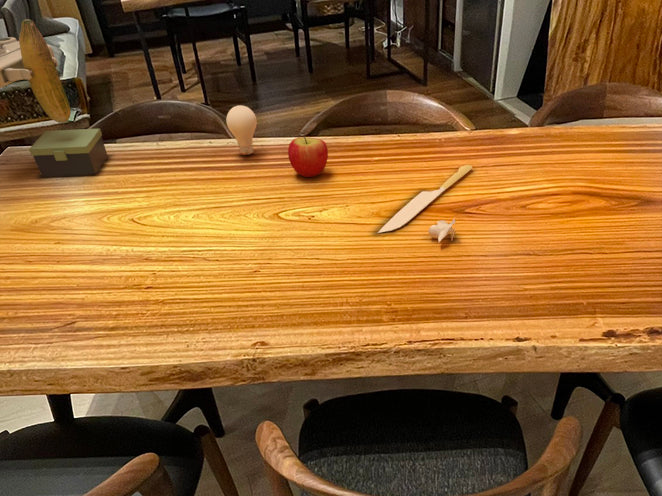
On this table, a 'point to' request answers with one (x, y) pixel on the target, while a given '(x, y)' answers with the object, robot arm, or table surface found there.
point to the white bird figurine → (442, 229)
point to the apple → (308, 155)
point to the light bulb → (242, 127)
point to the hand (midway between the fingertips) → (43, 68)
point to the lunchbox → (69, 152)
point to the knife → (421, 202)
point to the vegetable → (43, 73)
